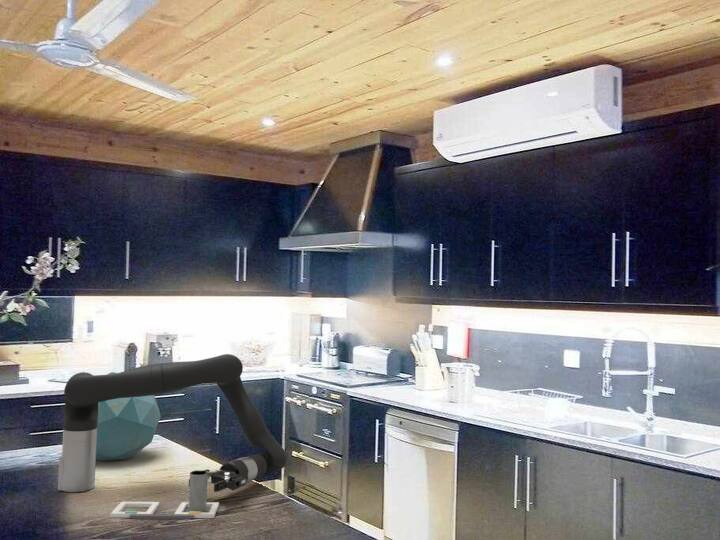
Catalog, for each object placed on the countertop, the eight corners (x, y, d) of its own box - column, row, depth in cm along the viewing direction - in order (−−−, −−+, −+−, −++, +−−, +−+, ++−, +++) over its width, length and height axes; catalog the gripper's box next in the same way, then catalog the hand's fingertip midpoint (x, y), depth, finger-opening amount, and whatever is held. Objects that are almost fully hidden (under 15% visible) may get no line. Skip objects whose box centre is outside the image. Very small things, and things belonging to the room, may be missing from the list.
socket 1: (110, 517, 171) (110, 512, 171) (121, 505, 181) (121, 500, 181) (150, 517, 172) (150, 512, 172) (159, 505, 182) (159, 500, 182)
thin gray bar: (129, 518, 171) (129, 515, 171) (130, 517, 172) (130, 514, 172) (193, 519, 172) (193, 516, 172) (193, 518, 173) (193, 515, 173)
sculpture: (169, 408, 255) (129, 346, 242) (180, 448, 229) (135, 382, 216) (98, 448, 249) (53, 388, 236) (101, 495, 224) (50, 430, 211)
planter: (196, 508, 181) (198, 469, 181) (209, 511, 179) (211, 471, 179) (184, 512, 177) (186, 473, 177) (198, 515, 175) (199, 475, 175)
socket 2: (174, 517, 172) (174, 512, 172) (181, 505, 182) (181, 501, 182) (213, 518, 173) (213, 513, 173) (219, 506, 183) (219, 501, 183)
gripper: (219, 456, 197) (181, 467, 183) (259, 462, 191) (224, 475, 177) (218, 482, 197) (180, 495, 183) (258, 489, 191) (223, 504, 176)
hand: (202, 485), depth 180 cm, fingers open, 8 cm apart
